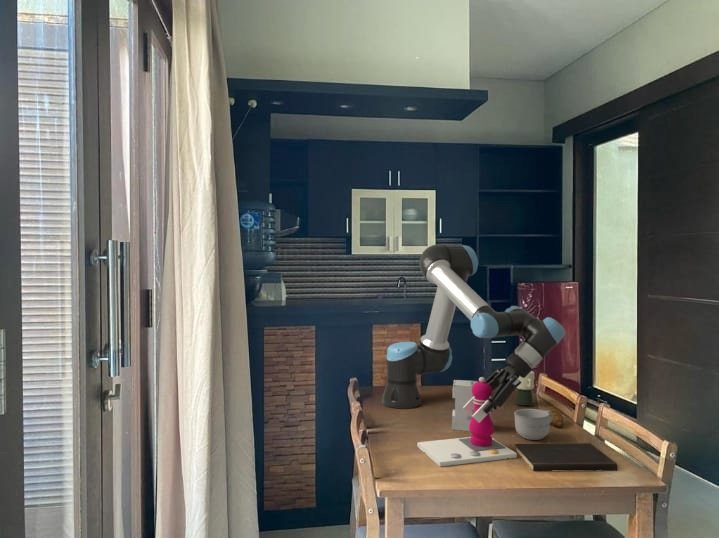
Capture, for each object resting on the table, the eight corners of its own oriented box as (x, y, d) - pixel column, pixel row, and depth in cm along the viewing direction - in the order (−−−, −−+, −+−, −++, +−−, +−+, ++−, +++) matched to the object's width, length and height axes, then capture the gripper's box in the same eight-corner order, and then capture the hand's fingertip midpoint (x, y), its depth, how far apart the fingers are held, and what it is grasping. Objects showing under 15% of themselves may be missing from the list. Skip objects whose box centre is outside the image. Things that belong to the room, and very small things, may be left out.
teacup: (526, 444, 163) (527, 418, 163) (507, 433, 174) (507, 408, 174) (565, 440, 167) (565, 414, 167) (544, 429, 178) (544, 405, 177)
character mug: (539, 408, 201) (540, 374, 201) (521, 409, 200) (522, 375, 200) (527, 401, 212) (527, 368, 212) (509, 401, 211) (510, 368, 211)
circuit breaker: (496, 433, 174) (496, 387, 173) (452, 429, 177) (452, 385, 176) (495, 425, 181) (495, 382, 181) (452, 422, 184) (453, 379, 184)
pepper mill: (484, 437, 165) (485, 373, 164) (498, 445, 158) (499, 378, 157) (464, 440, 162) (465, 375, 161) (477, 448, 155) (478, 380, 155)
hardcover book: (514, 451, 159) (514, 443, 159) (590, 450, 160) (590, 443, 160) (533, 473, 143) (533, 464, 143) (617, 472, 144) (617, 464, 144)
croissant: (570, 429, 178) (571, 414, 178) (550, 429, 178) (551, 414, 178) (554, 417, 192) (554, 403, 192) (536, 417, 192) (536, 403, 191)
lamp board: (417, 446, 161) (417, 441, 161) (488, 438, 168) (488, 433, 168) (439, 466, 146) (439, 460, 146) (516, 457, 153) (516, 452, 153)
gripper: (547, 377, 151) (491, 435, 149) (517, 362, 171) (468, 413, 170) (529, 358, 150) (473, 417, 149) (501, 346, 171) (452, 397, 169)
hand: (470, 414), depth 159 cm, fingers open, 8 cm apart
